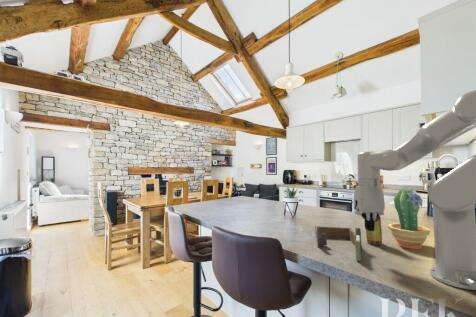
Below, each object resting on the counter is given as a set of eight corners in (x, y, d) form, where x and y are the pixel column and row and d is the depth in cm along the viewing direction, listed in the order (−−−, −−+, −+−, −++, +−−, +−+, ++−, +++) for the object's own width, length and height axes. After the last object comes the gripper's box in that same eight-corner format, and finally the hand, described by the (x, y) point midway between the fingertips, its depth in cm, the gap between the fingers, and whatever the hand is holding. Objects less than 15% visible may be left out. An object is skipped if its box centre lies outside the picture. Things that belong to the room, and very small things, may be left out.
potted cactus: (391, 248, 95) (387, 190, 97) (386, 238, 109) (383, 187, 110) (437, 254, 88) (433, 191, 89) (426, 242, 102) (422, 188, 103)
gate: (356, 249, 94) (356, 232, 94) (360, 249, 93) (359, 233, 93) (356, 259, 83) (355, 241, 83) (360, 260, 82) (359, 241, 82)
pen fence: (362, 250, 93) (361, 229, 94) (317, 247, 98) (317, 227, 98) (351, 237, 110) (351, 219, 111) (314, 236, 115) (313, 218, 115)
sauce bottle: (384, 246, 98) (382, 201, 99) (369, 245, 99) (367, 201, 100) (378, 241, 105) (376, 199, 106) (364, 240, 106) (362, 199, 107)
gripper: (381, 182, 90) (382, 227, 89) (345, 182, 90) (345, 227, 89) (394, 183, 83) (395, 233, 82) (355, 183, 82) (355, 233, 82)
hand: (369, 230), depth 86 cm, fingers closed
